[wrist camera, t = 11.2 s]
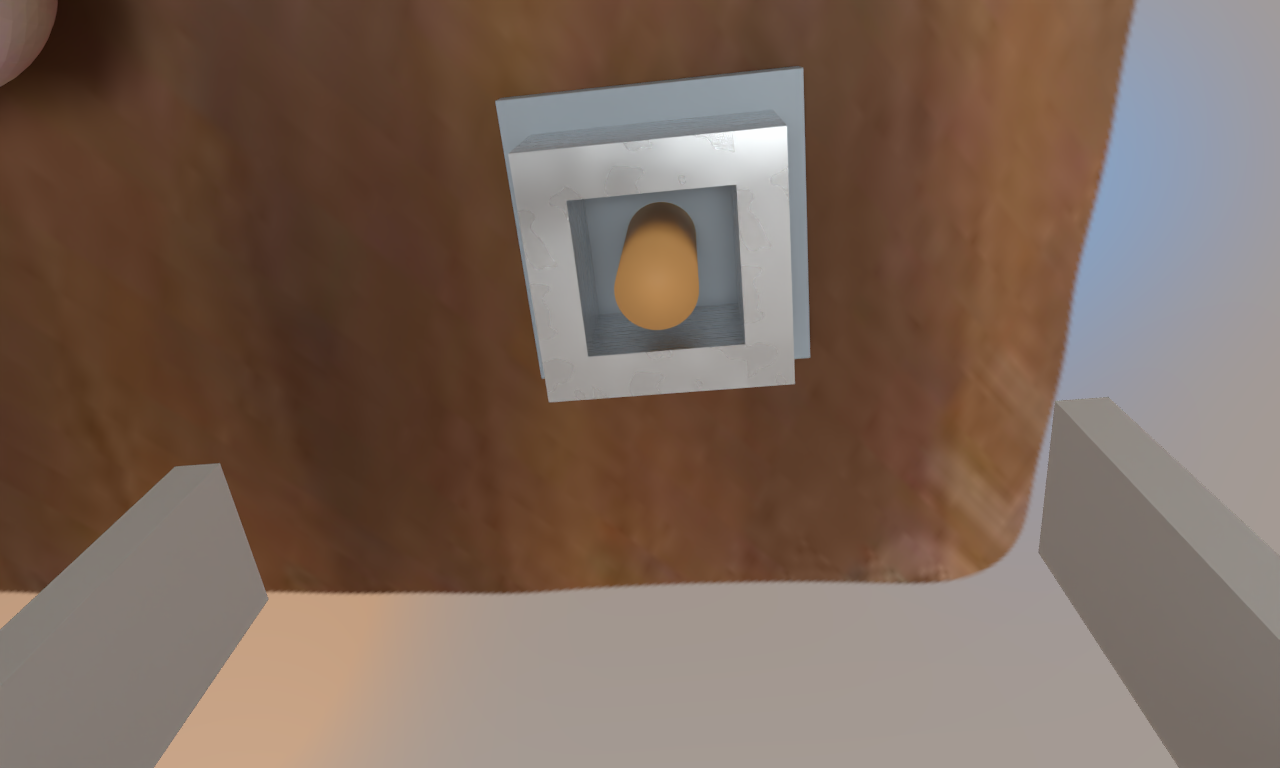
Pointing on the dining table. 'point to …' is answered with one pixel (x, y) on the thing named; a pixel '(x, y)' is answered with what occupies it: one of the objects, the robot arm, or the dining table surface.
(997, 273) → the dining table surface
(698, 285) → the keeper
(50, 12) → the decorative fruit
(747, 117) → the gray square frame
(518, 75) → the dining table surface
